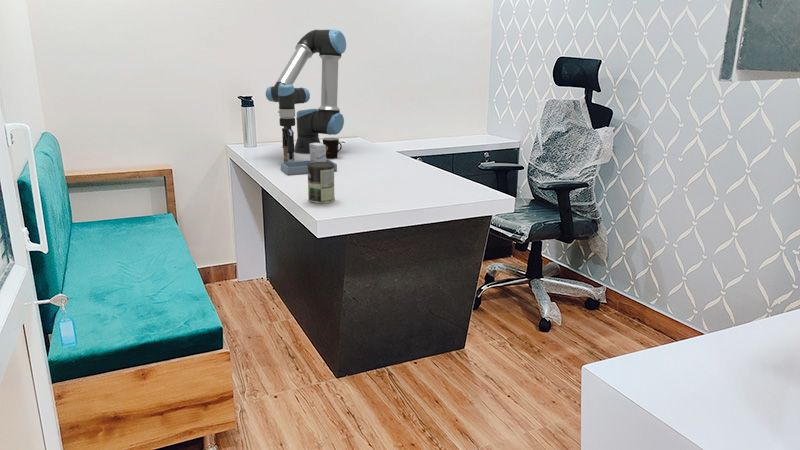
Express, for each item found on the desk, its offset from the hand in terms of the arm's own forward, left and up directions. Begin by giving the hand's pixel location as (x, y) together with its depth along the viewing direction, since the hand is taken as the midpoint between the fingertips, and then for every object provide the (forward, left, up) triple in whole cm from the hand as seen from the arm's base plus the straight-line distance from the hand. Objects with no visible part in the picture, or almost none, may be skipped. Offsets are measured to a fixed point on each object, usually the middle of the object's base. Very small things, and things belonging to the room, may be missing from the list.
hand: (289, 164), depth 296 cm
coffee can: (+72, -5, -1) cm, 72 cm away
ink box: (+17, +10, 0) cm, 20 cm away
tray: (+17, +5, 0) cm, 18 cm away
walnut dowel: (0, 0, 0) cm, 0 cm away
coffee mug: (-9, +25, -1) cm, 27 cm away
